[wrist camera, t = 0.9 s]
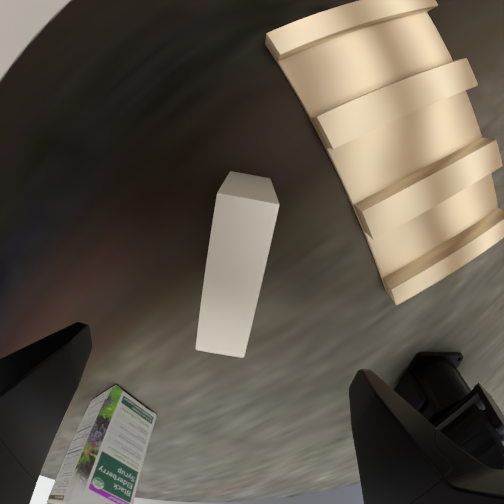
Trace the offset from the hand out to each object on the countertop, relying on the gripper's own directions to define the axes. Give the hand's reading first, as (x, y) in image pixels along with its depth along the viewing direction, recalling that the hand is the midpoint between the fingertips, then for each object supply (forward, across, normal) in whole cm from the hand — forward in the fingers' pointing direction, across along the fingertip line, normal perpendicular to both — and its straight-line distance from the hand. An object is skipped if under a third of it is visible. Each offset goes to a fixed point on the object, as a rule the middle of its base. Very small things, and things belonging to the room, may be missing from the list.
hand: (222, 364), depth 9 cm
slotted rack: (+12, -10, -9) cm, 18 cm away
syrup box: (+12, +9, +21) cm, 26 cm away
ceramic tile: (+12, 0, 0) cm, 12 cm away
